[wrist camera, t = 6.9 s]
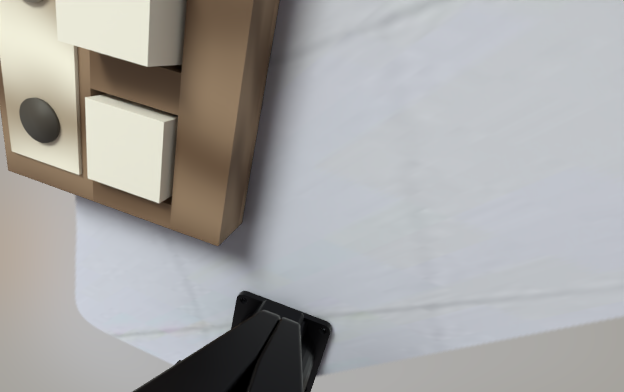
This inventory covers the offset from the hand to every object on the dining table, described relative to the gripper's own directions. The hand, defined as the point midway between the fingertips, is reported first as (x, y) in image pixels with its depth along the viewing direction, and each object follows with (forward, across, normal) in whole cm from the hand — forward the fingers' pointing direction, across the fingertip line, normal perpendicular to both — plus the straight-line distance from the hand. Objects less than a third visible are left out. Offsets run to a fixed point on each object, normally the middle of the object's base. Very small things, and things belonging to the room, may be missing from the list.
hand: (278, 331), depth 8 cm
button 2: (+12, +12, +2) cm, 17 cm away
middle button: (+11, +12, -5) cm, 17 cm away
